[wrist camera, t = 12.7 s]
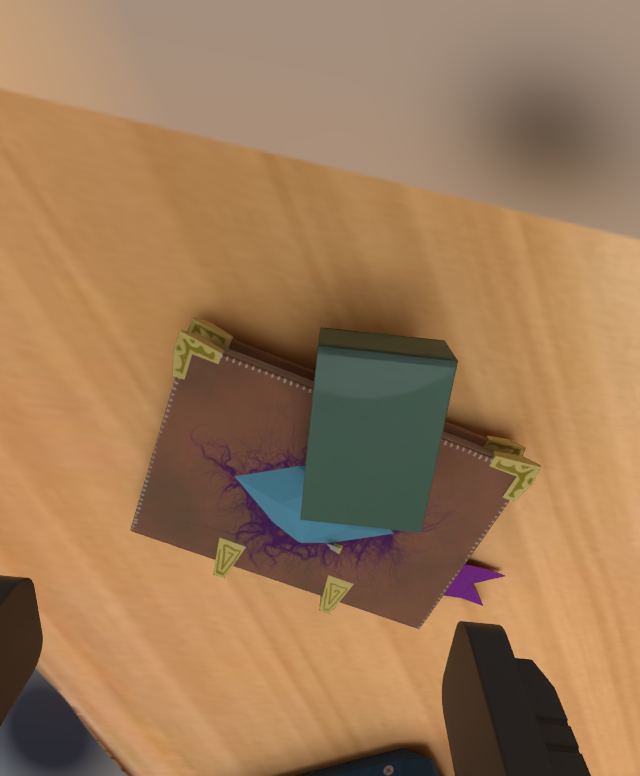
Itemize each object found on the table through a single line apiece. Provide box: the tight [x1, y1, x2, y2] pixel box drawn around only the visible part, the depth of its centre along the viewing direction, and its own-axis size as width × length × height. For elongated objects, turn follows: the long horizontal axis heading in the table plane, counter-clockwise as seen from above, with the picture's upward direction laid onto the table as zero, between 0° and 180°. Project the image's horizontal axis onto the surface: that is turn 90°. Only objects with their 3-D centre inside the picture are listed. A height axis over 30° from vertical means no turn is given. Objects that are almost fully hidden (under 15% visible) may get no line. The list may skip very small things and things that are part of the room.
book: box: [130, 317, 541, 629], centre depth 31 cm, size 16×25×5 cm, turn 68°
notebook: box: [300, 327, 458, 533], centre depth 25 cm, size 9×6×3 cm, turn 174°
